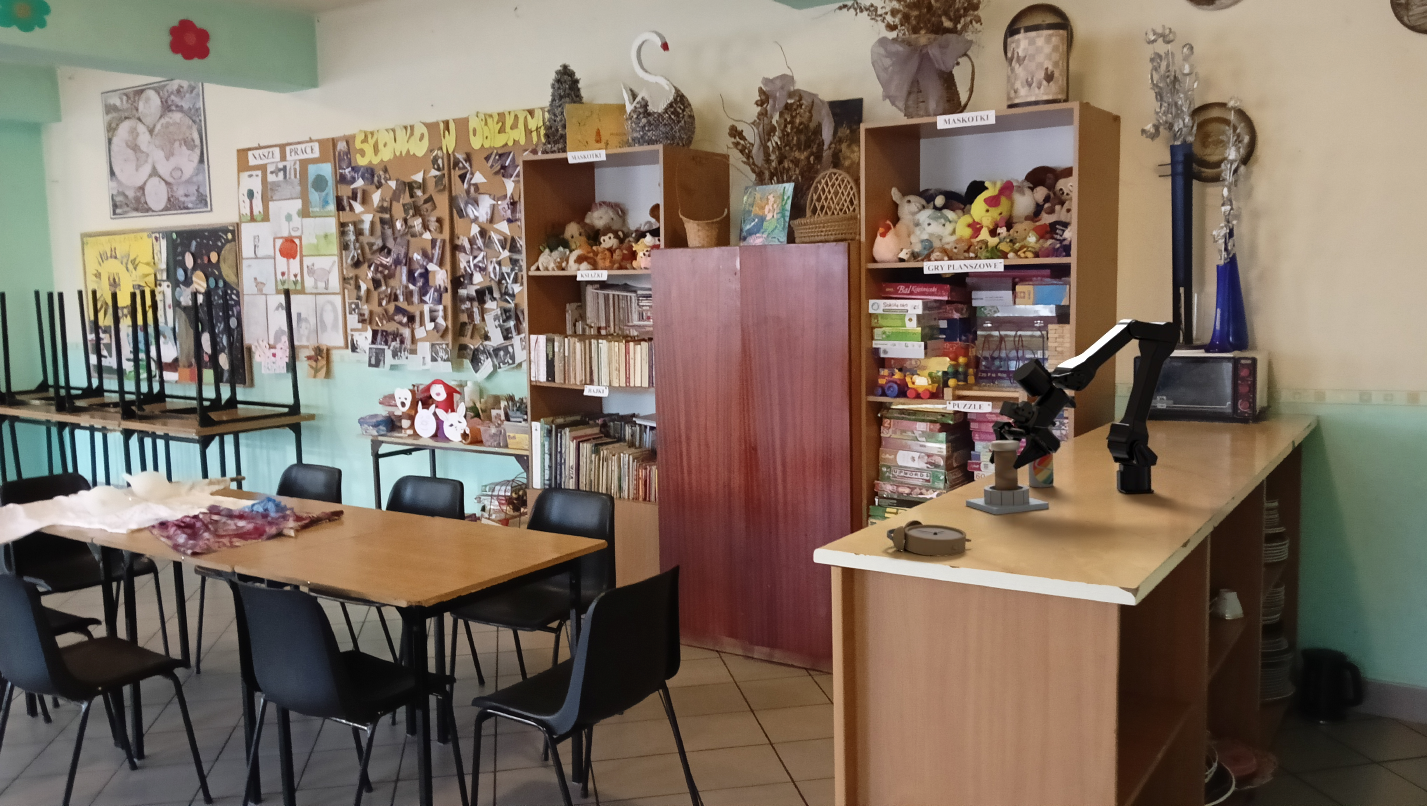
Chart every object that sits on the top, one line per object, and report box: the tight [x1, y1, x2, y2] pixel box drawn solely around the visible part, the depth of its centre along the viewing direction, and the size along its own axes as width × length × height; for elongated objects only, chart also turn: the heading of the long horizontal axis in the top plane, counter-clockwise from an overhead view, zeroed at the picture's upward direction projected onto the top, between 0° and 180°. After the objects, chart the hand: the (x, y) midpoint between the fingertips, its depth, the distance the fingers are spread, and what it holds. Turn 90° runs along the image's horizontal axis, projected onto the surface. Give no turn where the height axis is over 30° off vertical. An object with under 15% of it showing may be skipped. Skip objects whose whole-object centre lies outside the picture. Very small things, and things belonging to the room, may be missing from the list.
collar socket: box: [965, 483, 1050, 516], centre depth 233 cm, size 13×12×4 cm
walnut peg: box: [990, 440, 1021, 491], centre depth 233 cm, size 6×6×13 cm
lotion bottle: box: [1027, 403, 1055, 488], centre depth 255 cm, size 6×6×20 cm
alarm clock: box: [886, 519, 972, 557], centre depth 199 cm, size 11×5×15 cm
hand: (1002, 465), depth 232 cm, fingers open, 9 cm apart
